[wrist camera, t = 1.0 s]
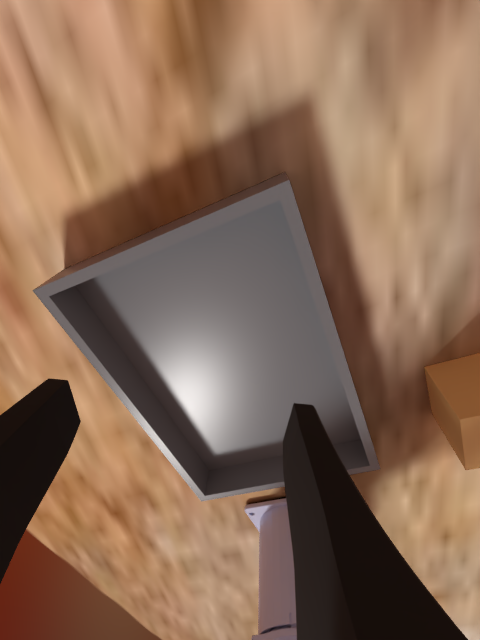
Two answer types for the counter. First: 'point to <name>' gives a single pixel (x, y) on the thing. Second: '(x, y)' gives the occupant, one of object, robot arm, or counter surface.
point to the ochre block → (457, 405)
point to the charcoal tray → (217, 339)
